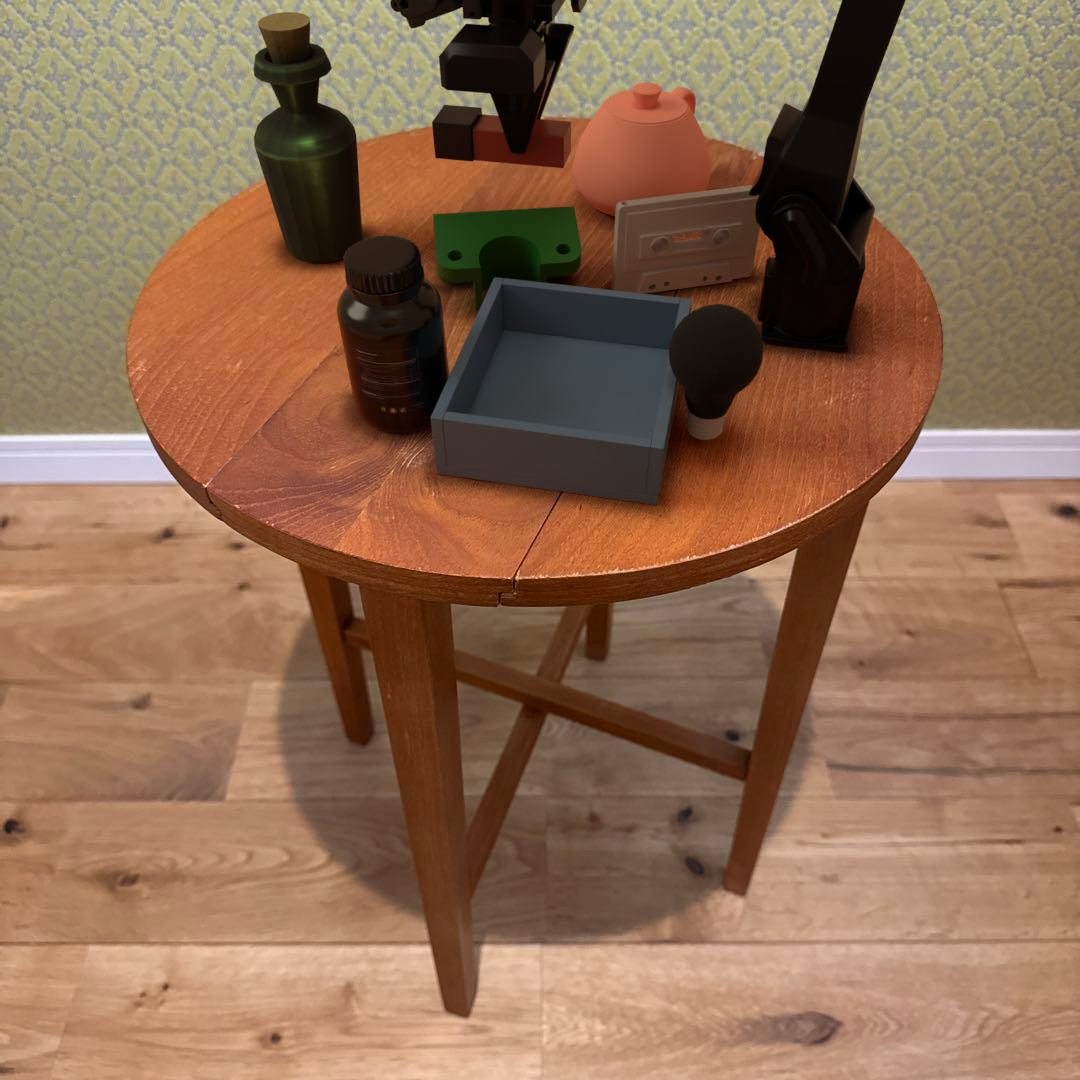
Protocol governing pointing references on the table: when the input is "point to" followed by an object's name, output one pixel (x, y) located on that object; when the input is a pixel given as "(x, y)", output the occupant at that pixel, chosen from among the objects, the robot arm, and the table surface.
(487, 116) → the red bar
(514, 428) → the bin
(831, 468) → the table surface
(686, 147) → the sugar bowl
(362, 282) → the supplement bottle
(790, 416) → the table surface
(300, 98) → the potion bottle
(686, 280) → the cassette
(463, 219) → the clamp
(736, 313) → the light bulb
